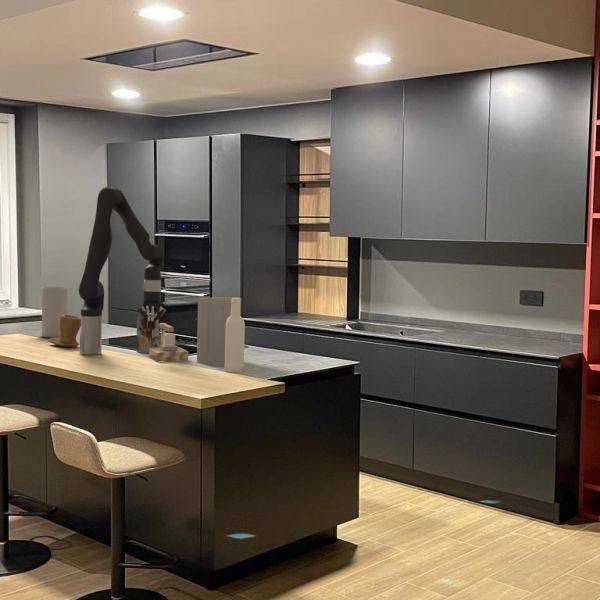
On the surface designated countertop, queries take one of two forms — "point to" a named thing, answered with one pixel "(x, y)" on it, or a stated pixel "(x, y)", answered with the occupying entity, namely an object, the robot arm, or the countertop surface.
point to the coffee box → (147, 335)
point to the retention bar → (166, 327)
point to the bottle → (234, 339)
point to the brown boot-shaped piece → (67, 331)
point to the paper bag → (212, 329)
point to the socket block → (168, 355)
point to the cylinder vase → (53, 310)
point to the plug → (168, 343)
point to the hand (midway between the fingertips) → (151, 329)
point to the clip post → (162, 336)
